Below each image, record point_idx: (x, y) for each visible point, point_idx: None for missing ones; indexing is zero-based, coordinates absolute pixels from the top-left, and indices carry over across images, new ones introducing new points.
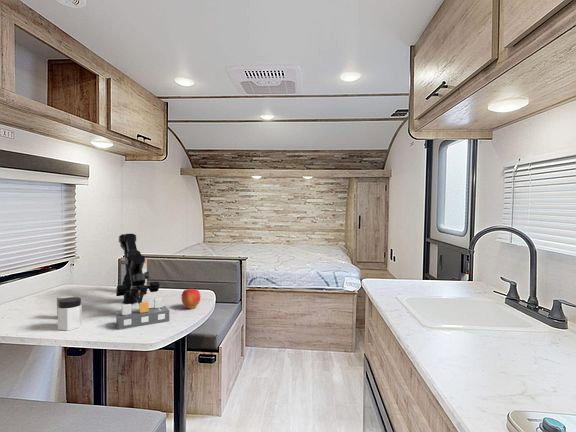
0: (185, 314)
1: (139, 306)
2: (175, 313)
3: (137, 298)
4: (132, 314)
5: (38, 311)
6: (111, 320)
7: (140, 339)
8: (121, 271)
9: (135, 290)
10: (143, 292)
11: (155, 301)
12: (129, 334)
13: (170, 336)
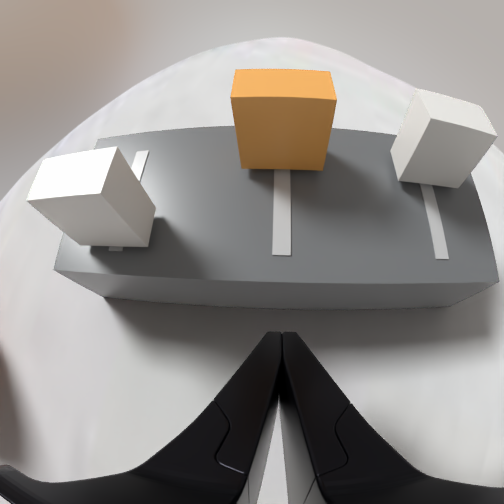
0: (21, 258)
1: (330, 124)
2: (40, 313)
3: (335, 385)
4: (379, 160)
5: None
6: (465, 401)
7: (324, 60)
8: None
9: (440, 501)
10: (163, 466)
11: (120, 164)
12: (369, 109)
13: (218, 47)
